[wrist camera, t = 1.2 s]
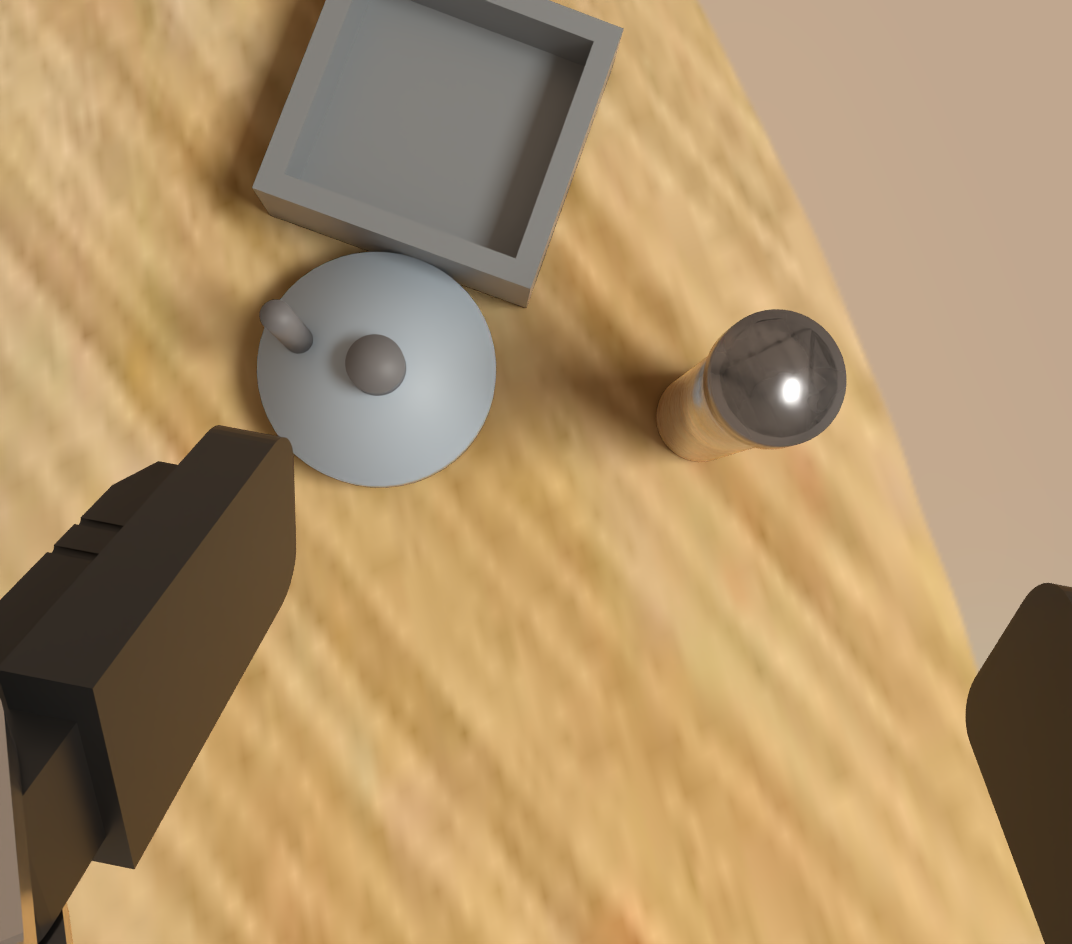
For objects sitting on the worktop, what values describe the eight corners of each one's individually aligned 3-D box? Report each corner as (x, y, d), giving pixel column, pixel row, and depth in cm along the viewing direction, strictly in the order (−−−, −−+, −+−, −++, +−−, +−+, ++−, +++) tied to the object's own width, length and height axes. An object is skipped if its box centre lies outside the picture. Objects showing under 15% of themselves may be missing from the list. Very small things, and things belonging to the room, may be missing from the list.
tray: (270, 215, 37) (252, 187, 34) (364, -26, 38) (354, -74, 35) (526, 307, 38) (530, 289, 35) (612, 67, 39) (623, 28, 36)
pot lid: (231, 442, 36) (188, 427, 31) (313, 231, 37) (284, 179, 32) (450, 519, 37) (446, 517, 31) (526, 307, 38) (534, 270, 32)
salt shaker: (635, 448, 38) (692, 419, 28) (668, 352, 38) (735, 290, 28) (731, 482, 38) (822, 465, 28) (762, 387, 38) (863, 337, 28)
